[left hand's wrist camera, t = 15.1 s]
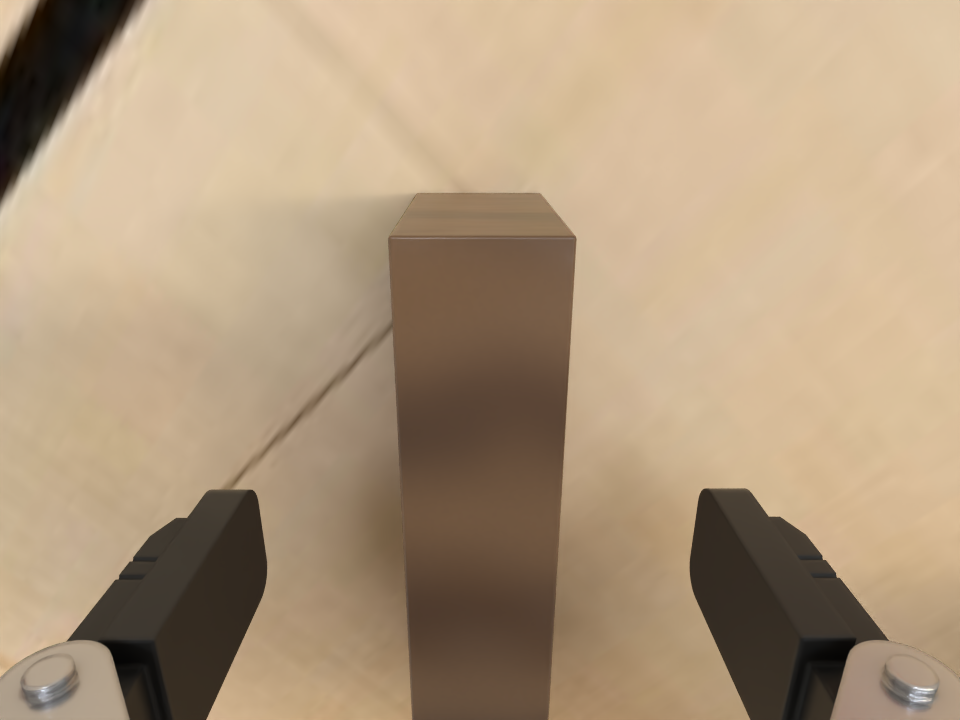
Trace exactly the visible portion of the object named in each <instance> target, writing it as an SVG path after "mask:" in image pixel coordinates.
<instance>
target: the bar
mask: <svg viewBox="0 0 960 720" xmlns="http://www.w3.org/2000/svg"><path fill="white" fill-rule="evenodd" d="M388 244H389V264H390V284H391V304H392V324H393V344H394V364H395V384H396V404H397V424H398V444H399V464H400V484H401V504H402V524H403V544H404V564H405V584H406V604H407V624H408V644H409V664H410V684H411V704H412V720H548V716H549V699H550V682H551V665H552V648H553V631H554V614H555V596H556V579H557V562H558V545H559V528H560V511H561V494H562V477H563V460H564V442H565V425H566V408H567V391H568V374H569V357H570V340H571V323H572V306H573V288H574V271H575V254H576V236H575V235H574V234H573V233H572V231H571V230H570V229H569V228H568V227H567V225H566V224H565V223H564V222H563V220H562V219H561V218H560V217H559V216H558V214H557V213H556V212H555V211H554V209H553V208H552V207H551V206H550V205H549V203H548V202H547V201H546V200H545V198H544V197H543V196H542V195H541V194H540V193H418V194H416V196H415V197H414V199H413V201H412V202H411V204H410V205H409V207H408V208H407V210H406V211H405V213H404V214H403V216H402V217H401V219H400V220H399V222H398V223H397V225H396V227H395V228H394V230H393V231H392V233H391V234H390V236H389V238H388Z"/></svg>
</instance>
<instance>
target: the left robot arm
mask: <svg viewBox="0 0 960 720" xmlns="http://www.w3.org/2000/svg"><path fill="white" fill-rule="evenodd" d="M266 578H267V559H266V552H265V545H264V538H263V531H262V524H261V517H260V510H259V503H258V498H257V495H256V493H255V492H254V491H253V490H209V491H208V492H206V494H205V495H204V496H203V497H202V499H201V500H200V502H199V503H198V504H197V506H196V507H195V508H194V510H193V511H192V512H191V514H190V515H189V516H188V518H176V519H174V520H173V521H171V522H170V523H168V524H167V525H166V526H164V527H163V528H161V529H160V530H158V531H157V532H155V533H154V534H153V535H151V536H150V537H149V538H148V540H147V541H146V542H145V543H144V545H143V546H142V547H141V548H140V550H139V551H138V552H137V553H136V555H135V556H134V557H133V562H129V563H128V565H127V566H126V567H125V569H124V570H123V571H122V572H121V574H120V575H119V580H115V581H114V582H113V584H112V585H111V586H110V587H109V589H108V590H107V591H106V592H105V594H104V595H103V596H102V598H101V599H100V600H99V601H98V603H97V604H96V605H95V606H94V608H93V609H92V610H91V611H90V613H89V614H88V615H87V616H86V618H85V619H84V620H83V622H82V623H81V624H80V625H79V627H78V628H77V629H76V630H75V632H74V633H73V634H72V635H71V637H70V638H69V639H68V640H67V642H63V643H59V644H56V645H53V646H50V647H47V648H44V649H42V650H40V651H38V652H35V653H34V654H32V655H30V656H28V657H26V658H25V659H23V660H21V661H20V662H18V663H17V664H15V665H14V666H13V667H12V668H10V669H9V670H8V671H7V672H5V673H4V674H3V675H2V676H1V677H0V720H206V719H207V717H208V715H209V712H210V710H211V708H212V706H213V704H214V701H215V699H216V697H217V695H218V693H219V690H220V688H221V686H222V684H223V682H224V680H225V677H226V675H227V673H228V671H229V669H230V666H231V664H232V662H233V660H234V658H235V655H236V653H237V651H238V649H239V647H240V644H241V642H242V640H243V638H244V636H245V634H246V631H247V629H248V627H249V625H250V623H251V620H252V618H253V616H254V614H255V612H256V609H257V607H258V605H259V603H260V601H261V598H262V596H263V593H264V589H265V584H266ZM690 578H691V584H692V589H693V592H694V595H695V598H696V600H697V602H698V604H699V607H700V609H701V611H702V613H703V615H704V618H705V620H706V622H707V624H708V627H709V629H710V631H711V633H712V635H713V638H714V640H715V642H716V644H717V647H718V649H719V651H720V653H721V655H722V658H723V660H724V662H725V664H726V666H727V669H728V671H729V673H730V675H731V678H732V680H733V682H734V684H735V686H736V689H737V691H738V693H739V695H740V697H741V700H742V702H743V704H744V706H745V709H746V711H747V713H748V715H749V717H750V720H960V677H959V676H958V675H957V674H956V673H955V672H953V671H952V670H951V669H950V668H948V667H947V666H946V665H945V664H943V663H942V662H940V661H939V660H937V659H935V658H934V657H932V656H930V655H928V654H926V653H925V652H922V651H920V650H918V649H916V648H913V647H910V646H907V645H904V644H901V643H897V642H892V641H889V640H888V639H887V638H886V636H885V635H884V634H883V632H882V631H881V630H880V629H879V627H878V626H877V625H876V624H875V622H874V621H873V620H872V618H871V617H870V616H869V615H868V613H867V612H866V611H865V610H864V608H863V607H862V606H861V604H860V603H859V602H858V601H857V599H856V598H855V597H854V596H853V594H852V593H851V592H850V590H849V589H848V588H847V587H846V585H845V584H844V583H843V582H842V580H841V579H840V578H837V577H836V573H835V571H834V570H833V569H832V568H831V566H830V565H829V564H828V562H827V561H826V560H823V559H822V555H821V553H820V552H819V551H818V550H817V548H816V547H815V546H814V545H813V543H812V542H811V541H810V539H809V538H808V537H807V536H806V535H805V534H804V533H802V532H801V531H800V530H798V529H797V528H795V527H794V526H792V525H791V524H790V523H788V522H787V521H785V520H784V519H782V518H781V517H769V516H768V515H767V514H766V512H765V511H764V510H763V508H762V507H761V505H760V504H759V503H758V501H757V500H756V499H755V497H754V496H753V495H752V493H751V492H750V491H749V490H748V489H703V490H702V491H701V493H700V496H699V500H698V507H697V514H696V521H695V528H694V535H693V542H692V549H691V556H690Z"/></svg>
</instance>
